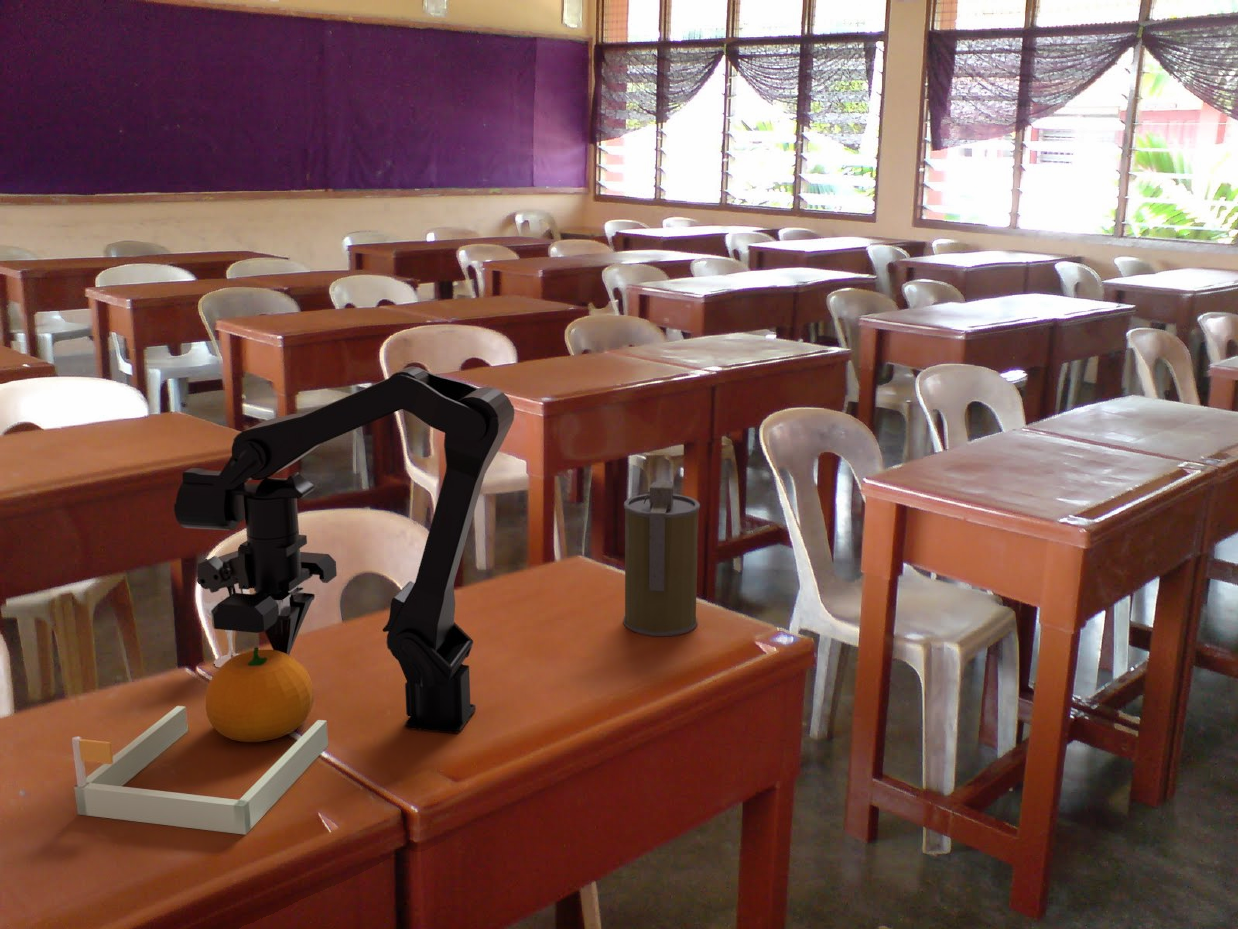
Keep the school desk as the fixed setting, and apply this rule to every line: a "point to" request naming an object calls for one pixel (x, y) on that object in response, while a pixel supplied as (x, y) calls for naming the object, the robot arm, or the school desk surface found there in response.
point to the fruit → (259, 696)
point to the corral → (177, 809)
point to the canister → (661, 562)
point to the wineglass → (210, 602)
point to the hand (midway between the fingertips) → (282, 658)
